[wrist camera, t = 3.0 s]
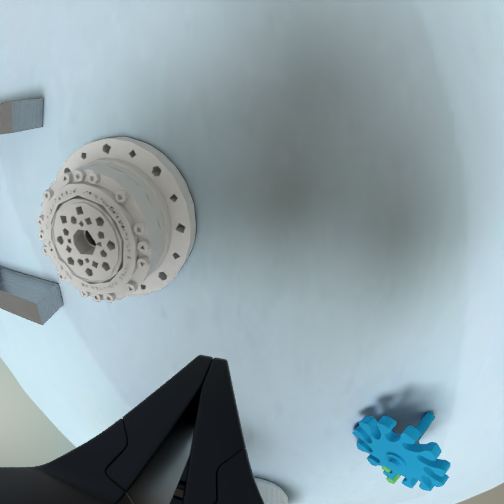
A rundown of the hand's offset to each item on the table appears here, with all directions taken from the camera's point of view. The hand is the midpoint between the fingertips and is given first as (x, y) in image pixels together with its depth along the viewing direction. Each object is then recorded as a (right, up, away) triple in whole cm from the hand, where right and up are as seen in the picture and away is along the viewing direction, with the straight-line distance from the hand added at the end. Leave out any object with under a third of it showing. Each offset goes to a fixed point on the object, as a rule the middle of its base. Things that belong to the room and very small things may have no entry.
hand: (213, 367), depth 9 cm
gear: (+14, -12, +15) cm, 24 cm away
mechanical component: (-7, +6, +10) cm, 13 cm away
